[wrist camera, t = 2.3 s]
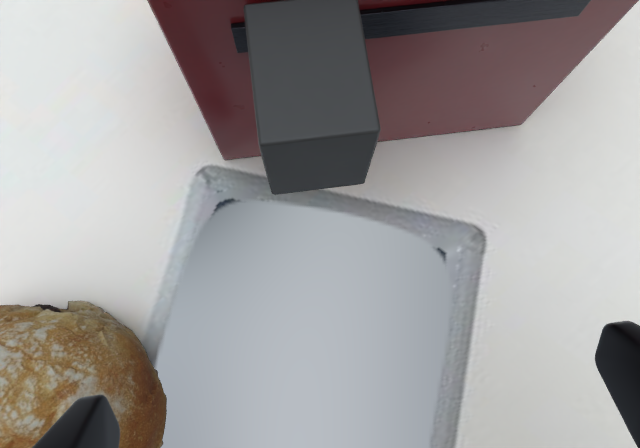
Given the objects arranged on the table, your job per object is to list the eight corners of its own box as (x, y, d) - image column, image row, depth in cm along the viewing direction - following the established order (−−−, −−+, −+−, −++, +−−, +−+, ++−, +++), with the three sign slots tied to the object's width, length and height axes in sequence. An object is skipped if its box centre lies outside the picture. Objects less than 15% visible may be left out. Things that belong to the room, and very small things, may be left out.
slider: (365, 184, 16) (382, 131, 12) (272, 195, 15) (258, 145, 12) (346, 74, 17) (357, -9, 13) (259, 84, 16) (242, 2, 13)
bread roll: (191, 336, 25) (144, 244, 19) (170, 582, 19) (87, 563, 12) (-4, 355, 25) (-117, 266, 19) (-96, 611, 18) (-317, 606, 12)
